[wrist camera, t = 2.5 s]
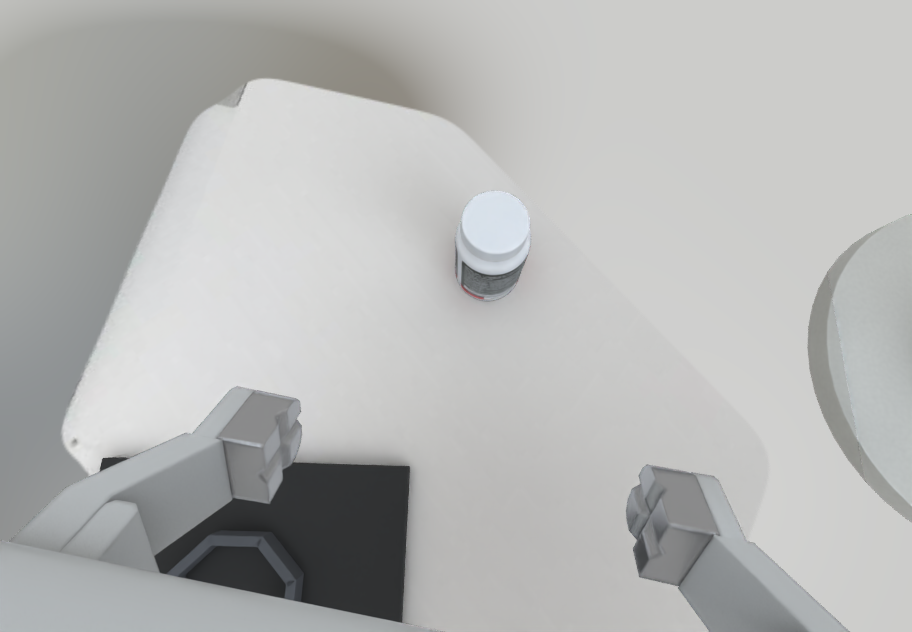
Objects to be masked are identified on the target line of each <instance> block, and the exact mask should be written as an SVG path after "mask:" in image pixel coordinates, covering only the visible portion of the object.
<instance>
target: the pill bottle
mask: <svg viewBox="0 0 912 632" xmlns="http://www.w3.org/2000/svg"><path fill="white" fill-rule="evenodd" d="M530 245H531V234H530V217H529V213H528V211H527V209H526V207H525V206H524V204H523V203H522V202H521V201H520V200H519V199H518V198H517V197H515V196H513V195H511V194H509V193H507V192H503V191H487V192H483V193H481V194H479V195H477V196H475V197H474V198H472V199H471V200H470V201H469V202H468V204H467V205H466V206H465V208H464V210H463V213H462V217H461V221H460V223H459V225H458V228H457V231H456V237H455V255H456V264H455V272H456V277H457V280H458V283H459V285H460V286H461V288H462V289H463V290H464V291H465V292H466V293H467V294H468V295H470V296H472V297H474V298H476V299H479V300H484V301H490V300H496V299H499V298H502V297H504V296H506V295H507V294H508V293H510V292H511V291H512V289H513V288H514V287H515V285H516V283H517V281H518V279H519V276H520V273H521V271H522V268H523V266H524V263H525V260H526V258H527V256H528V253H529V250H530Z"/></svg>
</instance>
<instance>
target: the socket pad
mask: <svg viewBox="0 0 912 632" xmlns="http://www.w3.org/2000/svg"><path fill="white" fill-rule="evenodd" d="M127 459H129V458H116V457H112V458H103V459H102V463H101V468H100V471H102V470H105V469H107V468H109V467H111V466H113V465H116V464H118V463H120V462H122V461H124V460H127ZM282 474H283V481H282V483H281V484H280V486H279V488H278V490H277V491H276V493H275V495H274V497H273V499H272V500H271V502H270V504H267V503H261V502H255V501H249V500H243V499H237V498H232V501H230V502H229V503H227V504H226V505H225V506H223V507H222V508H220V509H219V510H218V511H216V512H215V513H213V514H212V515H211V516H209V517H208V518H206V519H205V520H204V521H202V522H201V523H199V524H198V525H197V526H195V527H194V528H192V529H191V530H190V531H188V532H187V533H185V534H184V535H183V536H181V537H180V538H178V539H177V540H176V541H174V542H173V543H171V544H170V545H169V546H167V547H166V548H164V549H163V550H162V551H160V552H159V553H157V554H156V555H155V556H154V557H155V560H156V563H157V565H158V568H159V571H160V573H162V574H167V575H172V576H177V577H181V578H186V579H191V580H196V581H201V582H206V583H211V584H215V585H220V586H225V587H230V588H235V589H240V590H244V591H249V592H254V593H259V594H264V595H269V596H274V597H278V598H283V599H288V600H293V601H298V602H303V603H307V604H312V605H317V606H322V607H327V608H332V609H337V610H341V611H346V612H351V613H356V614H361V615H366V616H371V617H375V618H380V619H385V620H390V621H395V622H400V623H402V612H403V593H404V573H405V553H406V534H407V514H408V495H409V475H410V466H384V465H350V464H317V463H292V465H290V466H288V467H287V468H285V469H283V470H282Z"/></svg>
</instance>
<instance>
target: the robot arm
mask: <svg viewBox="0 0 912 632" xmlns="http://www.w3.org/2000/svg"><path fill="white" fill-rule="evenodd" d="M300 412H301V407H300V401H299V400H298V399H296V398H291V397H287V396H282V395H277V394H273V393H268V392H263V391H259V390H257V391H256V390H252V389H247V388H243V387H238V386H236V387H234V388H232V389H231V390H229V392H228V393H227V394H226V395H225V396H224V397H223V399H222V400H221V401H220V402H219V403H218V404H217V406H216V407H215V408H214V409H213V410H212V411H211V412H210V414H209V415H208V416H207V417H206V418H205V419H204V421H203V422H202V423H201V424H200V425H199V426H198V428H197V429H196V430H195V431H194V432H193V433H192V434H190V433H184V434H182V435H180V436H178V437H175V438H173V439H171V440H169V441H166V442H164V443H162V444H160V445H158V446H155V447H153V448H151V449H149V450H147V451H144V452H142V453H140V454H138V455H135V456H133V457H131V458H129V459H127V460H124V461H122V462H120V463H118V464H116V465H113V466H111V467H109V468H107V469H105V470H102V471H100V472H98V473H96V474H93V475H91V476H89V477H87V478H85V479H82V480H80V481H78V482H76V483H74V484H71V485H69V486H67V487H65V488H64V489H63V490H62V491H61V492H60V493H59V494H58V495H57V496H56V497H55V498H54V499H53V500H52V501H50V502H49V503H48V504H47V505H46V506H45V507H44V508H43V509H42V510H41V511H40V512H39V513H38V514H37V515H36V516H35V517H34V518H33V519H32V520H31V521H30V522H28V524H26V525H25V526H24V527H23V528H22V529H21V530H20V531H19V532H18V533H17V534H16V535H15V536H14V537H13V538H12V539H11V540H10V541H9V542H8V541H2V540H0V632H444V631H439V630H434V629H429V628H424V627H419V626H414V625H409V624H405V623H400V622H395V621H390V620H385V619H380V618H375V617H371V616H366V615H361V614H356V613H351V612H346V611H341V610H337V609H332V608H327V607H322V606H317V605H312V604H307V603H303V602H298V601H293V600H288V599H283V598H278V597H274V596H269V595H264V594H259V593H254V592H249V591H244V590H240V589H235V588H230V587H225V586H220V585H215V584H211V583H206V582H201V581H196V580H191V579H186V578H181V577H177V576H172V575H167V574H162V573H160V571H159V568H158V565H157V563H156V560H155V557H154V556H155V555H156V554H157V553H159V552H160V551H162V550H163V549H164V548H166V547H167V546H169V545H170V544H171V543H173V542H174V541H176V540H177V539H178V538H180V537H181V536H183V535H184V534H185V533H187V532H188V531H190V530H191V529H192V528H194V527H195V526H197V525H198V524H199V523H201V522H202V521H204V520H205V519H206V518H208V517H209V516H211V515H212V514H213V513H215V512H216V511H218V510H219V509H220V508H222V507H223V506H225V505H226V504H227V503H229V502H230V501H232V498H237V499H243V500H249V501H255V502H261V503H267V504H270V502H271V500H272V499H273V497H274V495H275V493H276V491H277V490H278V488H279V486H280V484H281V483H282V481H283V474H282V470H283V469H285V468H287V467H288V466H290V465H292V463H293V461H294V459H295V457H296V455H297V452H298V449H299V446H300V443H301V436H302V425H301V424H300V423H299V422H298V420H297V417H298V416H299V414H300ZM639 479H640V483H641V484H640V485H638V486H636V487H634V488H633V489H632V490H631V493H630V495H629V497H628V501H627V508H626V516H627V524H628V529H629V531H630V532H631V533H632V535H633V536H634V537H635V538H636V539H637V542H636V544H635V546H634V547H633V551H634V556H635V560H636V564H637V569H638V573H639V577H640V578H645V579H649V580H654V581H658V582H662V583H667V584H671V585H676V586H679V587H678V589H679V590H680V591H681V593H682V594H683V596H684V597H685V598H686V600H687V601H688V602H689V604H690V605H691V607H692V608H693V609H694V611H695V612H696V614H697V615H698V616H699V618H700V619H701V621H702V622H703V623H704V625H705V626H706V627H707V629H708V630H709V632H850V631H848V630H847V629H846V628H845V627H844V626H843V625H842V624H841V623H840V622H839V621H838V620H837V619H836V618H834V617H833V616H832V615H831V614H830V613H829V612H828V611H827V610H826V609H825V608H824V607H823V606H822V605H820V604H819V603H818V602H817V601H816V600H815V599H814V598H813V597H812V596H811V595H810V594H809V593H808V592H806V591H805V590H804V589H803V588H802V587H801V586H800V585H799V584H798V583H797V582H796V581H794V580H793V579H792V578H791V577H790V576H789V575H788V574H787V573H786V572H785V571H784V570H783V569H782V568H780V567H779V566H778V565H777V564H776V563H775V562H774V561H773V560H772V559H771V558H770V557H769V556H768V555H767V554H765V553H764V552H763V551H762V550H761V549H760V548H759V547H758V546H757V545H756V544H755V543H752V542H748V541H747V540H746V538H745V536H744V534H743V532H742V530H741V528H740V525H739V523H738V521H737V519H736V517H735V515H734V512H733V510H732V508H731V506H730V504H729V502H728V500H727V497H726V495H725V493H724V491H723V489H722V487H721V484H720V482H719V480H718V479H716V478H715V477H714V476H709V475H704V474H698V473H692V472H691V473H690V472H686V471H681V470H675V469H669V468H664V467H658V466H653V465H646V466H644V467H643V468H642V470H641V472H640V474H639Z"/></svg>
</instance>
